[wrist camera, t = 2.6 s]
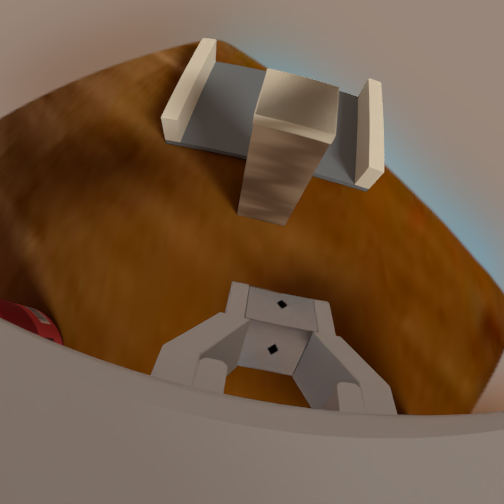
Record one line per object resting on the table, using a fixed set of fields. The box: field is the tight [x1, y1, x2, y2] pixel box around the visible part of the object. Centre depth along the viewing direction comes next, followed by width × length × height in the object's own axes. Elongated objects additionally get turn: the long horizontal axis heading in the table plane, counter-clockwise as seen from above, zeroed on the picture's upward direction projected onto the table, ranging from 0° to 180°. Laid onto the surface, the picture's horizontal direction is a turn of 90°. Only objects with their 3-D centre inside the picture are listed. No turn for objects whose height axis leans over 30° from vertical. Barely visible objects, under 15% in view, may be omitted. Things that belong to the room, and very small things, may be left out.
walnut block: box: [237, 68, 339, 226], centre depth 24 cm, size 4×4×14 cm
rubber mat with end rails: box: [161, 38, 384, 191], centre depth 31 cm, size 21×13×4 cm, turn 78°
